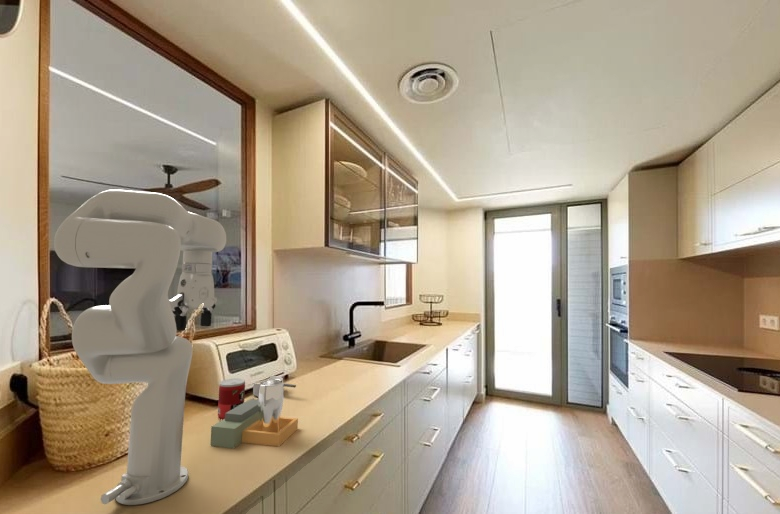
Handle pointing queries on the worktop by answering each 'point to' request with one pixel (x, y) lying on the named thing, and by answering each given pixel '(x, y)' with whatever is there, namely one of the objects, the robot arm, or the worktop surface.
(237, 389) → the canned food
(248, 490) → the worktop surface
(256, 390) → the saucepan
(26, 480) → the worktop surface
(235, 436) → the stepped block with tray
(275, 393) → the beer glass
